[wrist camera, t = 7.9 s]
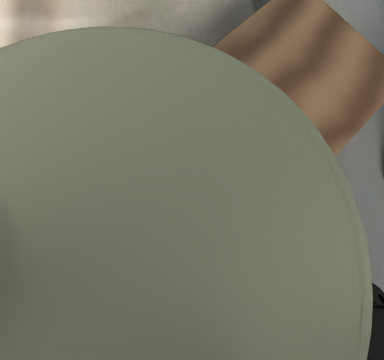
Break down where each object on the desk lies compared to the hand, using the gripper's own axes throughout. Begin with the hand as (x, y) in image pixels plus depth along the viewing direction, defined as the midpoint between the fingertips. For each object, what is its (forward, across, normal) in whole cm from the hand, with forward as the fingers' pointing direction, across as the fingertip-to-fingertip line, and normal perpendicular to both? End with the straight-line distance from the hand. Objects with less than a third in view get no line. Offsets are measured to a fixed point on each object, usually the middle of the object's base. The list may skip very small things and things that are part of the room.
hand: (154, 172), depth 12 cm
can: (+1, 0, -5) cm, 5 cm away
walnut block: (+25, +16, -3) cm, 30 cm away
